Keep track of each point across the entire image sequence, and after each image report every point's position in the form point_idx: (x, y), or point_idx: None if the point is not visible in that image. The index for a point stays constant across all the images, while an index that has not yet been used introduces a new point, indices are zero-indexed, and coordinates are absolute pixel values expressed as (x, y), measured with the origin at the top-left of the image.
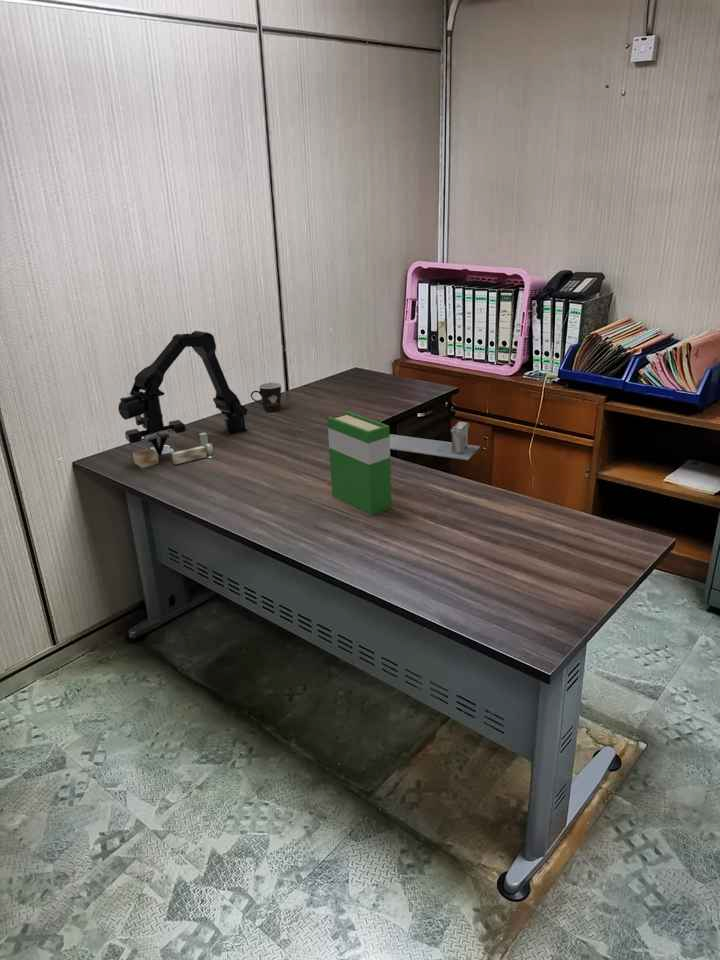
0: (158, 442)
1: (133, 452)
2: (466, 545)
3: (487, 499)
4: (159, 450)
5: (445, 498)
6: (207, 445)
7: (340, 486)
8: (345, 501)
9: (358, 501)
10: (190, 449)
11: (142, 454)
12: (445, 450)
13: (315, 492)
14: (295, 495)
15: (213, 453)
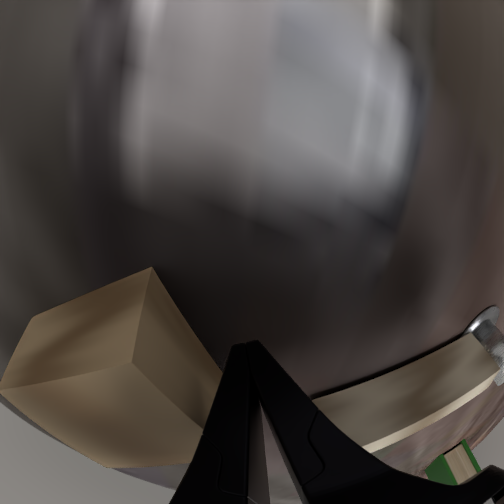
0: (291, 470)
1: (2, 391)
2: (424, 476)
3: (486, 432)
4: (261, 425)
5: (477, 437)
6: (499, 384)
7: (441, 472)
8: (433, 462)
9: (431, 472)
10: (438, 414)
11: (106, 451)
12: None
13: (436, 454)
14: (416, 464)
15: (497, 313)
